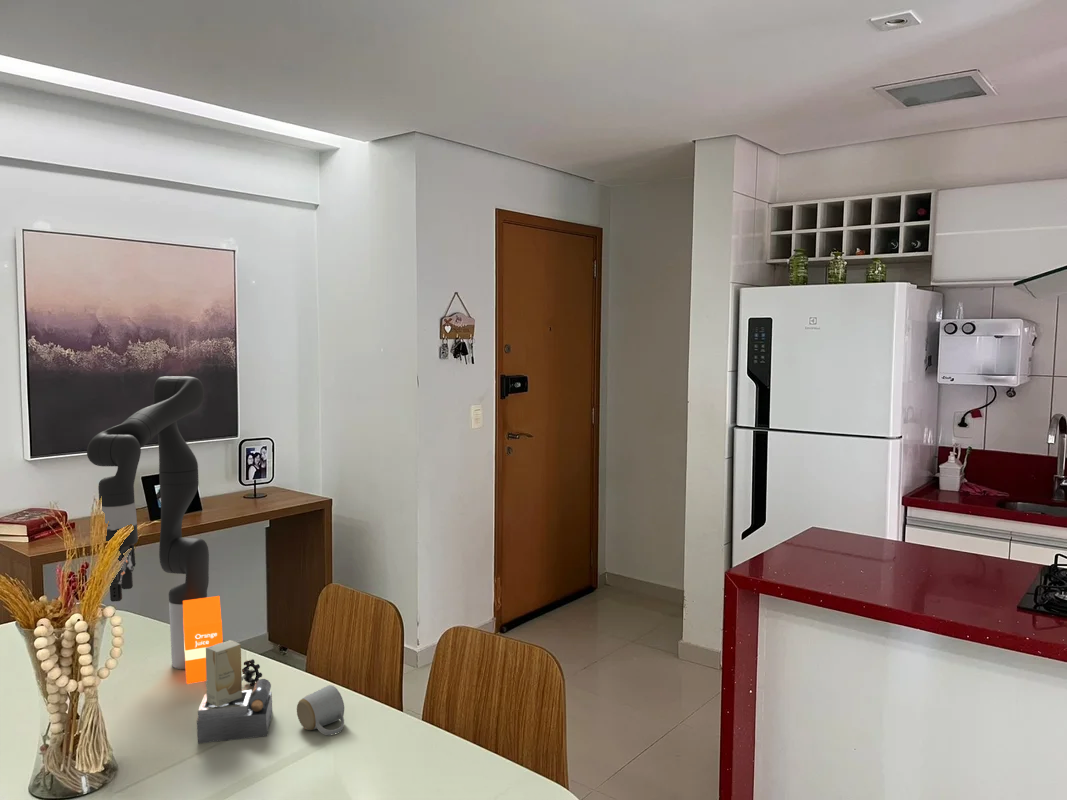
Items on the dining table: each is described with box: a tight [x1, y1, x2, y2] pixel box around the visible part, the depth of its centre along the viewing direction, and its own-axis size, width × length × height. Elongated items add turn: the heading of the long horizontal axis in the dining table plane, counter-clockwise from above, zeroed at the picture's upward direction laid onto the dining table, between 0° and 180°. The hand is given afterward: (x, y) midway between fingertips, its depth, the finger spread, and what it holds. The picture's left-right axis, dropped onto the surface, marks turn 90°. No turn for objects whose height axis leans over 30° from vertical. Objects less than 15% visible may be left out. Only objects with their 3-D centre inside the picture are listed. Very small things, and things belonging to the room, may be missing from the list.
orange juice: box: [183, 595, 224, 685], centre depth 206 cm, size 8×9×20 cm
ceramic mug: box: [296, 684, 345, 736], centre depth 179 cm, size 11×8×8 cm
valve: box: [241, 658, 263, 687], centre depth 196 cm, size 7×7×12 cm
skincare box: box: [205, 639, 243, 707], centre depth 178 cm, size 6×4×12 cm
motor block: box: [196, 678, 273, 744], centre depth 179 cm, size 11×14×9 cm
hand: (122, 594), depth 183 cm, fingers open, 8 cm apart
